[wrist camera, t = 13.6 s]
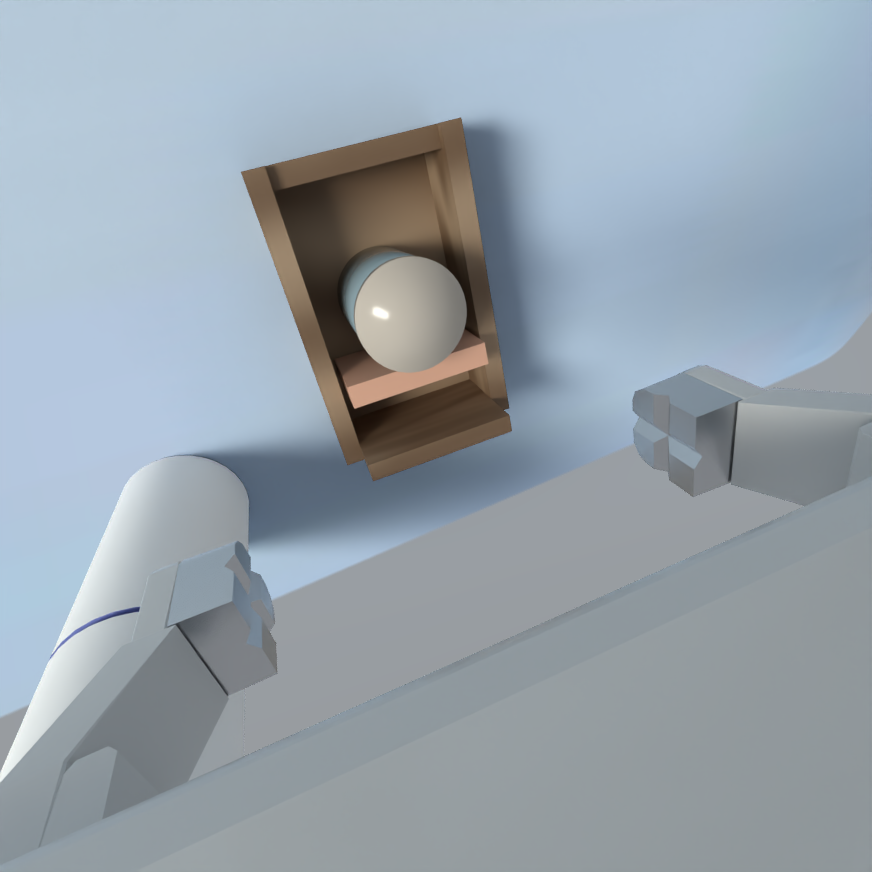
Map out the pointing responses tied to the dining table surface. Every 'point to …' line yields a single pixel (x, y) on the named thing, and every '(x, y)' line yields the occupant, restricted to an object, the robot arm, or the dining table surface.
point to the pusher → (378, 382)
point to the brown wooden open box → (402, 229)
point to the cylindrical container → (142, 588)
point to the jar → (402, 307)
